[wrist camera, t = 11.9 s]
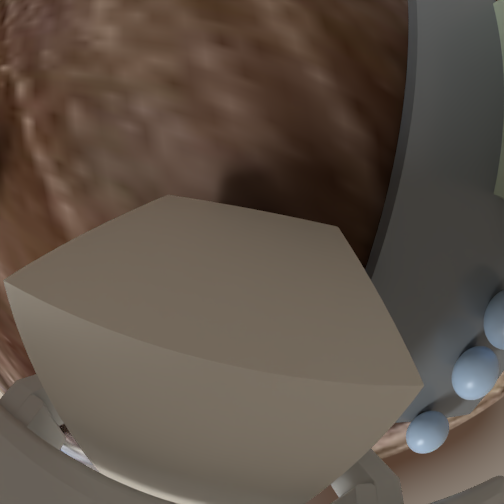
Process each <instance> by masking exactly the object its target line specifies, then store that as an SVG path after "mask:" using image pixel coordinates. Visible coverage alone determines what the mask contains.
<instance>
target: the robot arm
mask: <svg viewBox="0 0 504 504" xmlns="http://www.w3.org/2000/svg"><path fill="white" fill-rule="evenodd" d="M62 424H64V423H63V421H62V420H61V418H60V416H59V415H58V413H57V411H56V410H55V408H54V406H53V404H52V403H51V401H50V399H49V397H48V395H47V393H46V392H45V390H44V388H43V386H42V384H41V382H40V380H39V378H38V376H37V374H36V375H33V376H29V377H26V378H23V379H20V380H17V381H16V382H15V383H14V384H13V385H12V386H11V387H10V388H9V390H8V391H7V392H6V393H5V394H4V395H3V396H2V398H1V399H0V504H177V503H174V502H171V501H168V500H164V499H161V498H158V497H155V496H153V495H150V494H147V493H144V492H142V491H139V490H137V489H134V488H132V487H129V486H127V485H124V484H122V483H120V482H118V481H115V480H113V479H111V478H109V477H107V476H105V475H103V474H101V473H99V472H97V471H95V470H93V469H91V468H89V467H87V466H86V465H84V464H82V463H80V462H78V461H77V460H75V459H73V458H72V457H70V456H68V455H67V454H65V453H63V452H62V451H60V449H61V447H62V445H63V444H64V442H65V440H66V437H65V435H64V433H63V432H62V430H61V429H60V427H59V426H60V425H62ZM331 486H332V488H333V489H334V490H335V492H336V494H337V495H338V496H339V498H338V499H337V500H336V501H334V502H332V503H331V504H404V503H403V496H402V490H401V484H400V479H399V477H398V476H397V475H395V473H394V472H393V471H392V470H391V469H390V468H389V467H388V466H387V465H386V464H385V463H384V462H383V461H382V460H381V459H380V458H379V457H378V455H377V454H376V453H375V452H374V451H373V450H372V449H370V450H369V451H368V452H367V453H366V454H365V455H363V456H362V457H361V458H360V459H359V460H358V461H357V462H356V463H355V464H354V465H353V466H352V467H351V468H349V469H348V470H347V471H346V472H345V473H344V474H343V475H341V476H340V477H339V478H338V479H337V480H335V481H334V482H333V483H332V484H331ZM429 504H504V477H503V476H496V477H493V478H491V479H489V480H487V481H485V482H483V483H481V484H479V485H477V486H474V487H473V488H470V489H467V490H465V491H462V492H460V493H458V494H455V495H453V496H449V497H447V498H444V499H441V500H438V501H435V502H432V503H429Z"/></svg>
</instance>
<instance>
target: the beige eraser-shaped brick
mask: <svg viewBox="0 0 504 504" xmlns="http://www.w3.org/2000/svg"><path fill="white" fill-rule="evenodd" d="M3 281H4V285H5V289H6V292H7V296H8V300H9V303H10V306H11V310H12V313H13V316H14V319H15V322H16V325H17V328H18V331H19V333H20V336H21V339H22V341H23V344H24V346H25V349H26V351H27V354H28V356H29V358H30V361H31V363H32V365H33V367H34V369H35V372H36V374H37V376H38V378H39V380H40V382H41V384H42V386H43V388H44V390H45V392H46V393H47V395H48V397H49V399H50V401H51V403H52V404H53V406H54V408H55V410H56V411H57V413H58V415H59V416H60V418H61V420H62V421H63V423H64V424H65V426H66V427H67V429H68V430H69V432H70V433H71V435H72V436H73V438H74V439H75V441H76V442H77V444H78V445H79V446H80V448H81V449H82V451H83V452H84V453H85V455H86V456H87V457H88V459H89V460H90V461H91V462H92V464H93V465H94V466H95V467H96V469H97V470H98V471H99V472H100V473H101V474H103V475H105V476H107V477H109V478H111V479H113V480H115V481H118V482H120V483H122V484H124V485H127V486H129V487H132V488H134V489H137V490H139V491H142V492H144V493H147V494H150V495H153V496H155V497H158V498H161V499H164V500H168V501H171V502H174V503H177V504H305V503H306V502H308V501H309V500H310V499H312V498H313V497H315V496H316V495H317V494H319V493H320V492H322V491H323V490H324V489H325V488H327V487H328V486H329V485H330V484H332V483H333V482H334V481H335V480H337V479H338V478H339V477H340V476H341V475H343V474H344V473H345V472H346V471H347V470H348V469H349V468H351V467H352V466H353V465H354V464H355V463H356V462H357V461H358V460H359V459H360V458H361V457H362V456H363V455H365V454H366V453H367V452H368V451H369V450H370V449H371V448H372V447H373V446H374V445H375V444H376V443H377V442H378V440H379V439H380V438H381V437H382V436H383V435H384V434H385V433H386V432H387V431H388V430H389V429H390V428H391V426H392V425H393V424H394V423H395V422H396V421H397V420H398V418H399V417H400V416H401V415H402V414H403V412H404V411H405V410H406V409H407V408H408V406H409V405H410V404H411V403H412V401H413V400H414V399H415V397H416V396H417V395H418V393H419V392H420V391H421V389H422V388H423V387H424V384H423V382H422V379H421V377H420V375H419V373H418V370H417V368H416V366H415V364H414V362H413V360H412V357H411V355H410V353H409V351H408V349H407V347H406V345H405V343H404V341H403V339H402V337H401V335H400V333H399V331H398V329H397V327H396V325H395V323H394V321H393V319H392V318H391V316H390V314H389V312H388V310H387V308H386V306H385V304H384V303H383V301H382V299H381V297H380V295H379V294H378V292H377V290H376V288H375V287H374V285H373V283H372V281H371V280H370V278H369V276H368V274H367V273H366V271H365V269H364V268H363V266H362V264H361V263H360V261H359V259H358V258H357V256H356V254H355V253H354V251H353V250H352V248H351V246H350V245H349V243H348V242H347V240H346V238H345V237H344V235H343V234H342V232H341V231H340V229H339V228H338V227H337V226H332V225H328V224H323V223H319V222H314V221H309V220H305V219H300V218H295V217H290V216H285V215H280V214H275V213H270V212H265V211H260V210H255V209H250V208H244V207H239V206H233V205H228V204H222V203H216V202H210V201H204V200H198V199H192V198H186V197H180V196H173V195H166V196H164V197H162V198H159V199H157V200H155V201H152V202H150V203H148V204H145V205H143V206H141V207H139V208H136V209H134V210H132V211H130V212H128V213H125V214H123V215H121V216H119V217H117V218H115V219H113V220H110V221H108V222H106V223H104V224H102V225H100V226H98V227H96V228H94V229H92V230H90V231H88V232H86V233H84V234H82V235H80V236H78V237H77V238H75V239H73V240H71V241H69V242H67V243H65V244H63V245H62V246H60V247H58V248H56V249H54V250H53V251H51V252H49V253H47V254H45V255H44V256H42V257H40V258H39V259H37V260H35V261H33V262H32V263H30V264H28V265H27V266H25V267H23V268H22V269H20V270H19V271H17V272H15V273H14V274H12V275H11V276H9V277H7V278H6V279H4V280H3Z"/></svg>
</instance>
